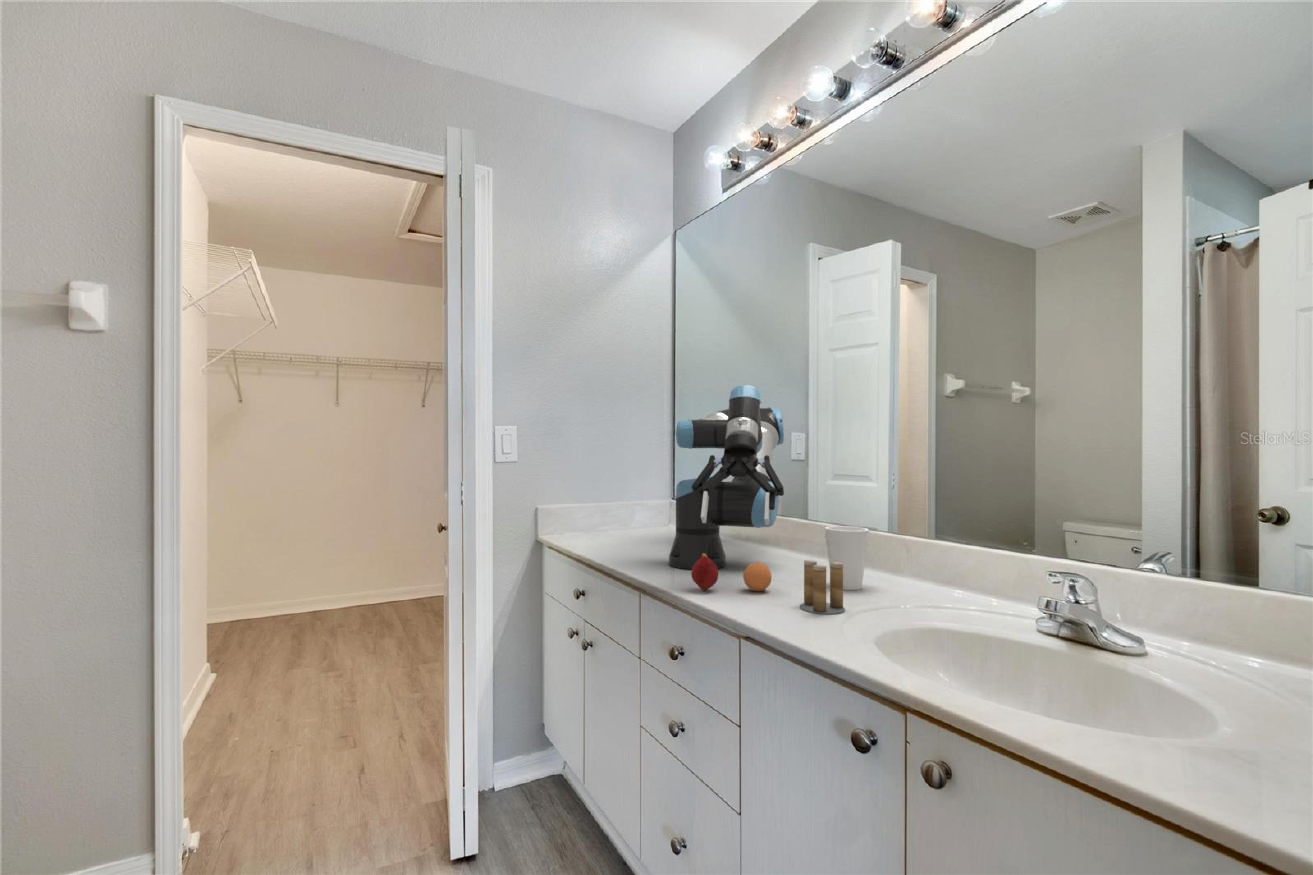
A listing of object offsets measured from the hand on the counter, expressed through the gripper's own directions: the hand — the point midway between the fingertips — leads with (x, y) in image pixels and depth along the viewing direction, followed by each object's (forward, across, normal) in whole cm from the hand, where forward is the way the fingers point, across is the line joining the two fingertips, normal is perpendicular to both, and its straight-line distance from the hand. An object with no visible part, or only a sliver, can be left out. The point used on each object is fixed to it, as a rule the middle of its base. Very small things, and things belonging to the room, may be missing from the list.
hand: (734, 521), depth 128 cm
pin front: (+16, +16, +4) cm, 23 cm away
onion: (+13, -6, +8) cm, 17 cm away
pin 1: (+19, +18, 0) cm, 26 cm away
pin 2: (+17, +21, +3) cm, 27 cm away
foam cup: (+5, +23, +20) cm, 31 cm away
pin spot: (+17, +18, +2) cm, 25 cm away
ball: (+8, +5, +9) cm, 13 cm away
